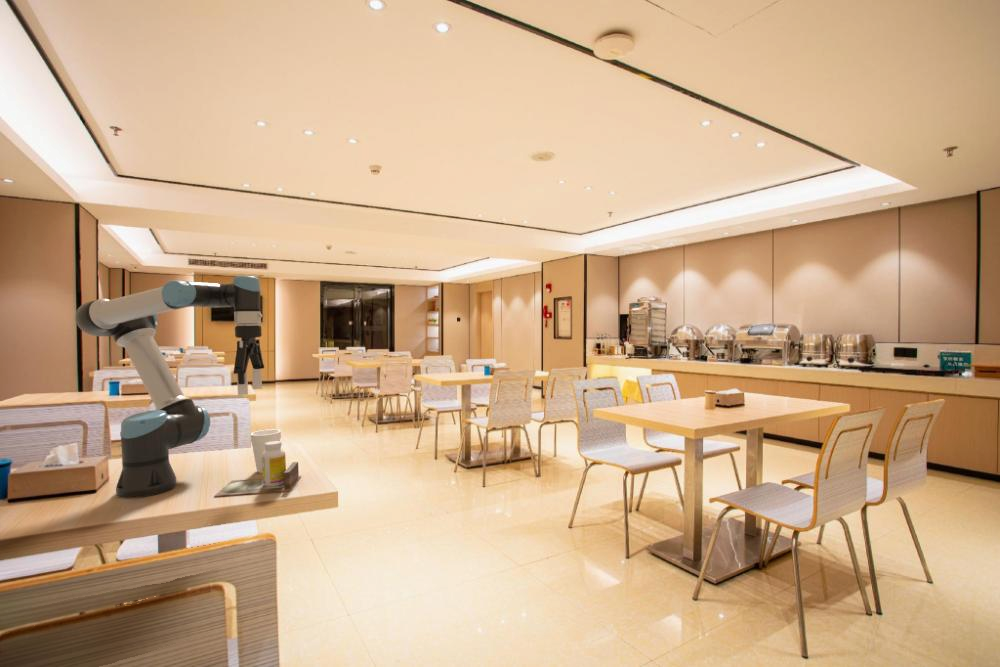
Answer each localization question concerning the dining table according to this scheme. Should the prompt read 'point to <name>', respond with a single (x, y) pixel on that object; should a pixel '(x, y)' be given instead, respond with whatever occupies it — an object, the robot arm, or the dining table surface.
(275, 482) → the supplement bottle
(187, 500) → the dining table surface
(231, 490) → the keyhole board
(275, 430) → the foam cup
